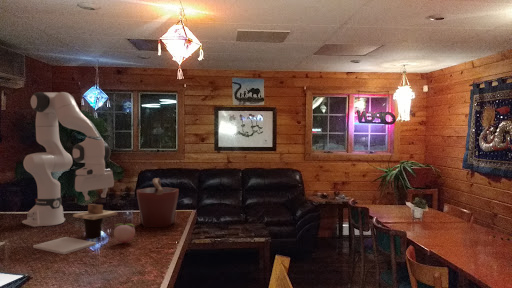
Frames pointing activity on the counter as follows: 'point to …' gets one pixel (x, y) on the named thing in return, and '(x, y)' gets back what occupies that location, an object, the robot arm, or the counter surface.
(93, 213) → the birch lid
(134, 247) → the counter surface
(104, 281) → the counter surface
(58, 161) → the robot arm
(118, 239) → the decorative fruit
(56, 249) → the rubber mat
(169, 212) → the bucket
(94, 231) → the coffee mug
